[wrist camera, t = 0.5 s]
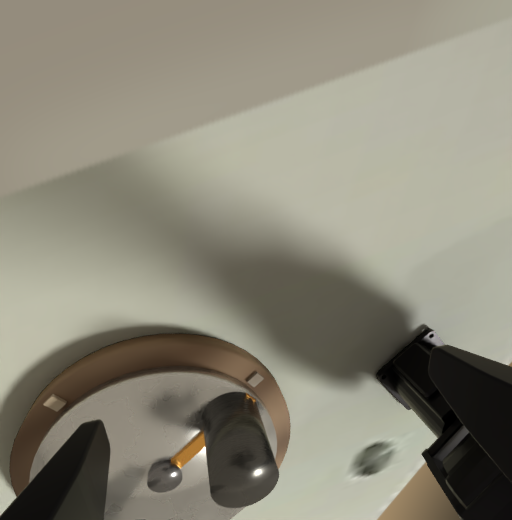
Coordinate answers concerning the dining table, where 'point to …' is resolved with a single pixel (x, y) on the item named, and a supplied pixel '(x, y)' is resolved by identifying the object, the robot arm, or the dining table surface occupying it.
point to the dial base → (135, 359)
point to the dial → (176, 443)
